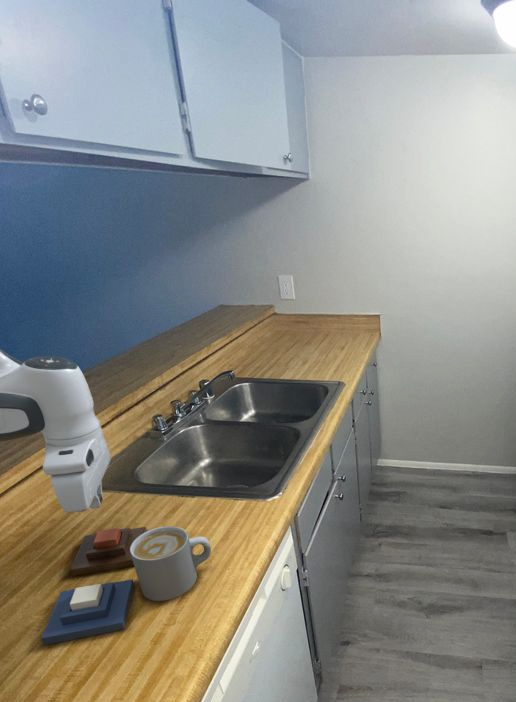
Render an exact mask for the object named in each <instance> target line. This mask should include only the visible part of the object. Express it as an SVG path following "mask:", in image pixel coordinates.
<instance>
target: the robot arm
mask: <svg viewBox="0 0 516 702" xmlns="http://www.w3.org/2000/svg"><path fill="white" fill-rule="evenodd" d="M91 392H92V391H91V389H90V386H89V385H88V382H87V379H86V378H85V375H84V373H83V371H82V370H81V368H80V366H78V365H77V363H75V362H74V361H72V360H70V359H67V358H65V357H61V356H53V355H52V356H51V355H42V356H35V357H31V358H28V359H26V360H25V361H22V360H20V359H17V358H16V357H14V356H12V355H10V354H9V353H7V352H6V351H4V350H3V349H2V348H0V442H7V441H8V442H9V441H12V440H17V439H21V438H26V437H29V436H32V435H35V434H38V433H41V434H42V436H43V438H44V441H45V445H44V447H45V454H44V458H43V462H42V470H43V472H44V474H45V476H50V481H51V487H52V489H53V491H54V494H55V497H56V498H57V502H58V503H59V506H60V507H61V509H62V510H63V511H64V512H65V513H68V514H73V513H80V512H86V511H87V512H88V510H89V509H92V510H94V509H95V510H96V509H100V508H101V506H102V503H103V501H104V498H105V497H104V494H103V483H102V480H103V478H104V476H105V473H106V472H107V470H108V468H109V465H110V463H111V459H112V457H111V452H110V449H109V446H108V444H107V441H106V439H105V436H104V432H103V428H102V424H101V422H100V420H99V418H98V417H97V415H96V414H95V409H94V406H95V403H94V399H93V395H92V393H91Z"/></svg>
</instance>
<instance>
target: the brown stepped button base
mask: <svg viewBox="0 0 516 702" xmlns="http://www.w3.org/2000/svg"><path fill="white" fill-rule="evenodd" d="M147 531H148V529H147V527H146V526H141V527H136V528H130V527H125V528H120V532H121V537H120V540H119V543H118V545H117V546H110V547H104V548H97V549H95V546H94V540H95V538H96V535H97V532H93V533H92V534H88V535H84V536H83V538H82V540H81V541H82V542H81V544H80V546H79V549H78V550H77V553H76V555H75V558H74V560H73V563H72V565H71V567H70V572H71V575H72V577H77V576H81V575H88V574H94V573H101V572H106V571H112V570H118V569H123V568H131V567H134V563H133V560H132V556H131V553H130V547H131V545H132V543H133V542H134V540H135V539H136V538H138V537H139V536H140V535H142V534H143V533H145V532H147Z"/></svg>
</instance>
